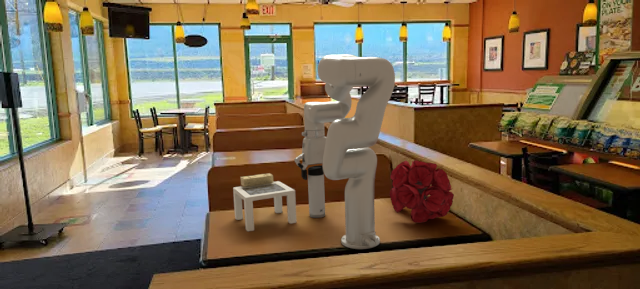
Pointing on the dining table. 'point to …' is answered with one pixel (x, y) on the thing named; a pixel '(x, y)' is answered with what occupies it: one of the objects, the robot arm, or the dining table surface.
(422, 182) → the bouquet
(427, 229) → the dining table surface
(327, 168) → the robot arm
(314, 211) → the travel mug
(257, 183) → the trapdoor
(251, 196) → the stand
